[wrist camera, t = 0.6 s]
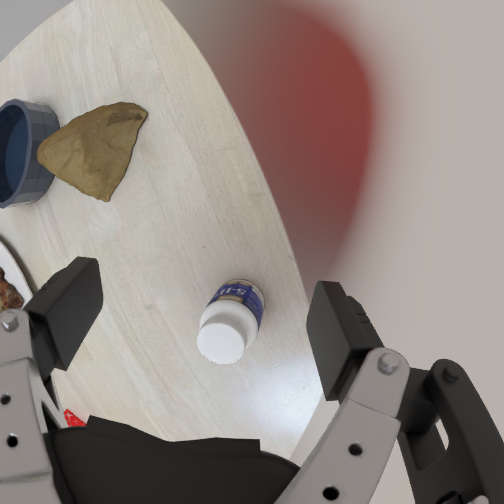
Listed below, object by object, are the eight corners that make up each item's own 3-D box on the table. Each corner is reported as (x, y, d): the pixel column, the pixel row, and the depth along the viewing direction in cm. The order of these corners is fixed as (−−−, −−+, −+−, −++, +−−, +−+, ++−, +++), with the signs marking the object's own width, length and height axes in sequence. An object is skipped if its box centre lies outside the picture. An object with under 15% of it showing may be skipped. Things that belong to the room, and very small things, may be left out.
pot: (4, 127, 30) (-20, 126, 25) (59, 87, 28) (32, 79, 22) (10, 213, 33) (-15, 218, 28) (66, 188, 31) (36, 191, 25)
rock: (125, 74, 24) (56, 126, 25) (112, 87, 18) (29, 155, 19) (172, 148, 32) (106, 189, 33) (175, 181, 26) (95, 231, 27)
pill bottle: (250, 270, 30) (233, 305, 21) (273, 313, 31) (265, 359, 22) (206, 290, 31) (177, 328, 22) (230, 330, 32) (209, 377, 23)
